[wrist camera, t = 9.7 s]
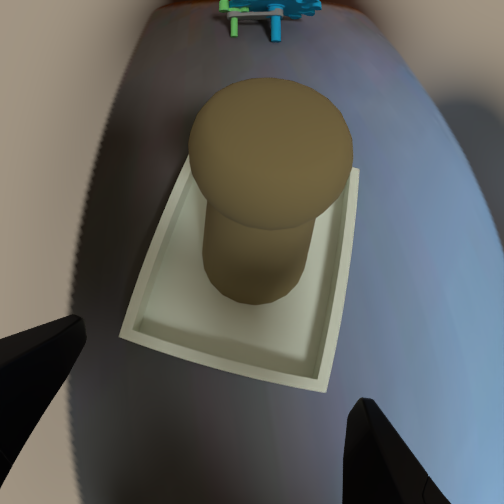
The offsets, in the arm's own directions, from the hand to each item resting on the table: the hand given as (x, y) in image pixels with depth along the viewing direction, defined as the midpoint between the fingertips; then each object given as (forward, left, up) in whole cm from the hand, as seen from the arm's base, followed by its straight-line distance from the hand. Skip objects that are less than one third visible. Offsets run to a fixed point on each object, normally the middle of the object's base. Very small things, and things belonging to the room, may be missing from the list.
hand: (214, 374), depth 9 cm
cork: (+7, 0, -8) cm, 10 cm away
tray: (+7, 0, -8) cm, 11 cm away
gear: (+34, +5, -8) cm, 36 cm away
